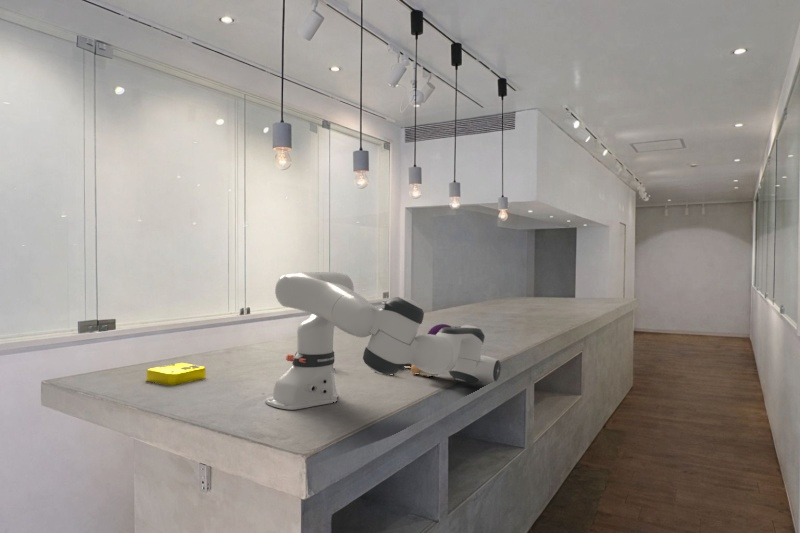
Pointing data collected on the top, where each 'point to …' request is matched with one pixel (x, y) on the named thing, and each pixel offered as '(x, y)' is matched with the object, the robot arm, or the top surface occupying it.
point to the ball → (414, 369)
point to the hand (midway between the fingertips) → (427, 359)
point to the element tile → (176, 374)
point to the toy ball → (437, 328)
